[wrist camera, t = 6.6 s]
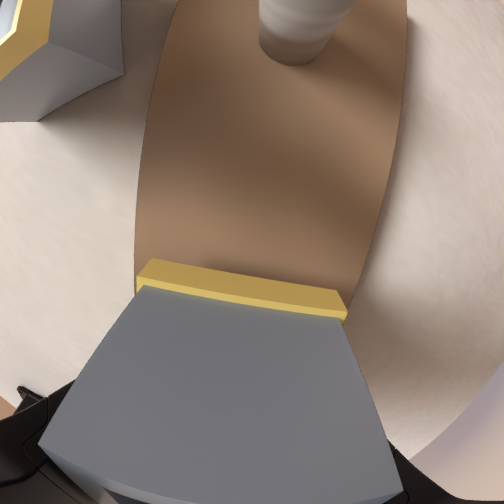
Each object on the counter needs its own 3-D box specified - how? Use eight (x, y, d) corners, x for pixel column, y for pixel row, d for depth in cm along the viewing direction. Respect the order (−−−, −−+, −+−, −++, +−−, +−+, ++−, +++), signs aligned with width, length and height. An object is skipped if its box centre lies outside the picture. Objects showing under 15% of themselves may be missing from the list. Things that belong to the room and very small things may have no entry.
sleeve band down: (336, 289, 8) (421, 481, 2) (289, 404, 10) (301, 541, 4) (152, 258, 7) (21, 429, 2) (155, 382, 9) (110, 514, 4)
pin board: (304, 384, 12) (318, 468, 8) (146, 358, 12) (111, 437, 7) (396, 8, 6) (459, -42, 1) (202, -32, 6) (173, -107, 1)
